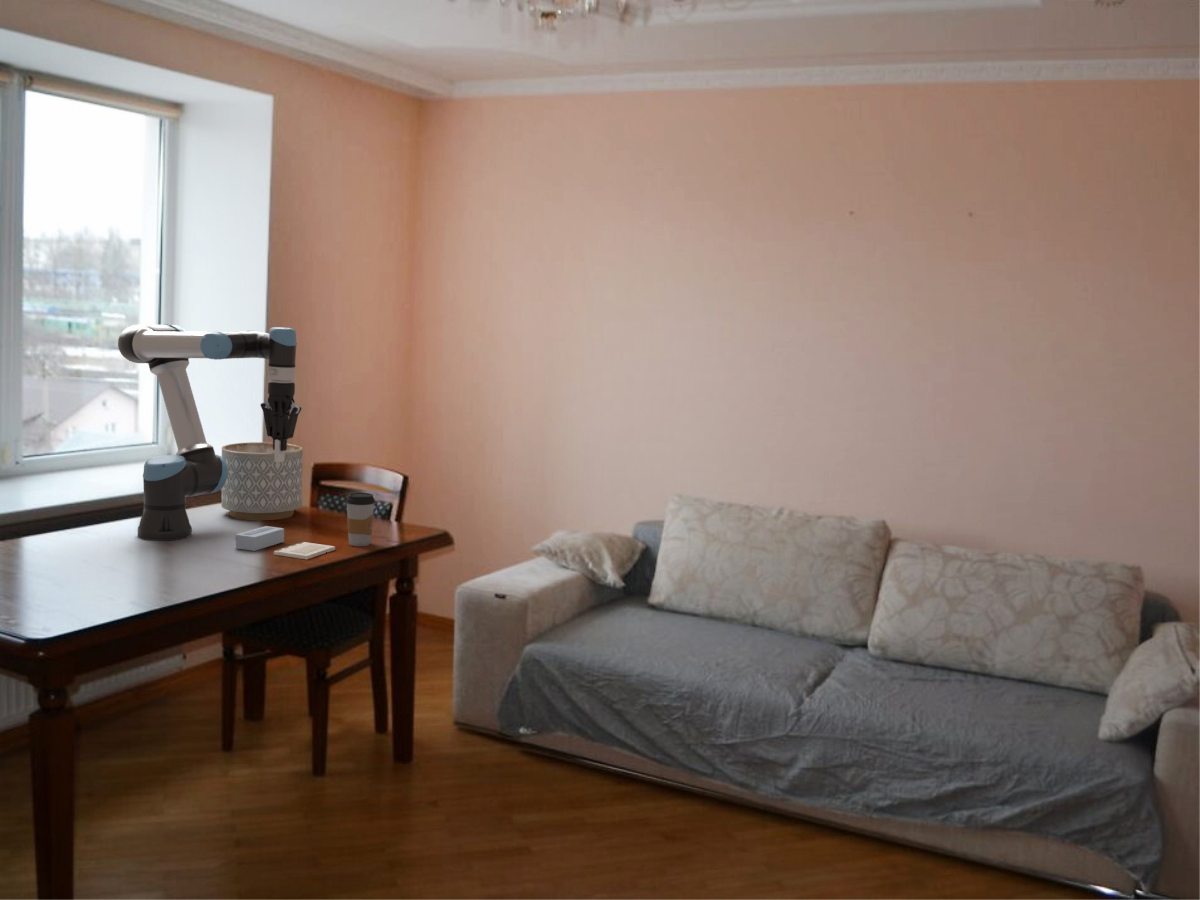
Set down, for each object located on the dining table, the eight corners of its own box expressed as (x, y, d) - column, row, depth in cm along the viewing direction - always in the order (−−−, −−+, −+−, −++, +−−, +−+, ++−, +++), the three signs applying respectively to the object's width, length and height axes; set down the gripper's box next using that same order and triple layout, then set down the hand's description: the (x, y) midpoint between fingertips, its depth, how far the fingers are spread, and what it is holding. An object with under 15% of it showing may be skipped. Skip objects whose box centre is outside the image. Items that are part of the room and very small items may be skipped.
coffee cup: (367, 548, 336) (368, 498, 334) (340, 545, 338) (341, 496, 336) (378, 542, 344) (379, 493, 342) (352, 540, 346) (353, 491, 344)
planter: (317, 513, 383) (318, 447, 380) (266, 525, 360) (267, 455, 357) (257, 503, 393) (258, 440, 390) (204, 515, 370) (204, 447, 367)
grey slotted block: (235, 548, 327) (235, 534, 327) (265, 539, 340) (266, 525, 340) (254, 550, 325) (254, 536, 325) (283, 541, 338) (284, 528, 338)
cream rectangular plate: (273, 554, 323) (273, 550, 323) (303, 545, 336) (303, 541, 336) (306, 559, 319) (306, 555, 319) (335, 549, 332) (335, 546, 332)
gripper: (254, 379, 329) (252, 460, 332) (292, 384, 324) (289, 465, 327) (271, 378, 336) (269, 457, 339) (308, 382, 331) (305, 462, 334)
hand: (279, 461), depth 333 cm, fingers closed
